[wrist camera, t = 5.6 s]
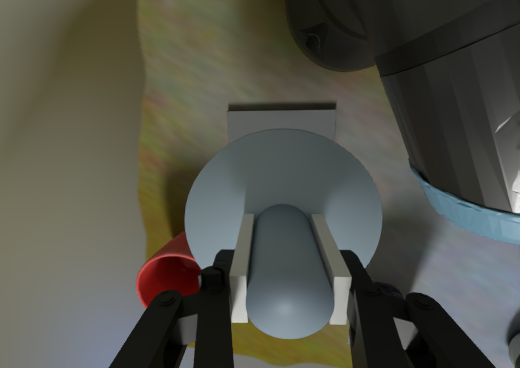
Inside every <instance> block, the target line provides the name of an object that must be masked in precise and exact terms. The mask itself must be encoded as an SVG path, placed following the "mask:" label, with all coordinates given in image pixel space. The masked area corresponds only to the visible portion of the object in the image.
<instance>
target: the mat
mask: <svg viewBox="0 0 520 368" xmlns="http://www.w3.org/2000/svg"><path fill="white" fill-rule="evenodd" d="M227 119H228V136H229V144H230V143H232V142H233V141H235V140H237V139H239V138H241V137H243V136H246V135H249V134H252V133H254V132H258V131H263V130H268V129H279V128H288V129H299V130H304V131H309V132H312V133H315V134H318V135H321V136H324V137H326V138H328V139H330V140H332V141H334V136H335V123H336V110H335V109H333V110H272V111H227Z"/></svg>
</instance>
